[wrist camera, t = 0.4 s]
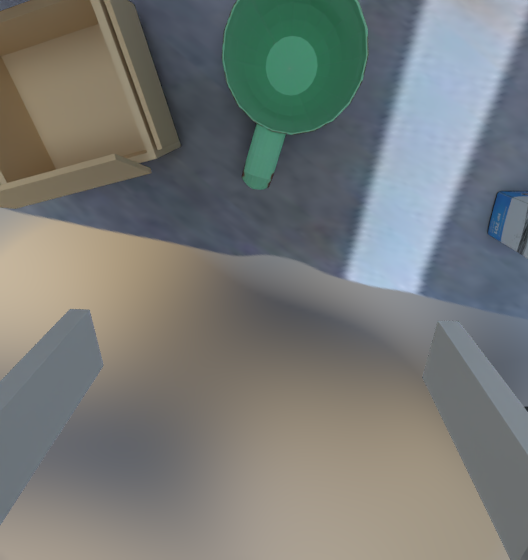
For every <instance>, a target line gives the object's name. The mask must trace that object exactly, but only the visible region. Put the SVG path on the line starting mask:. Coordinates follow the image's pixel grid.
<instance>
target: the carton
mask: <svg viewBox="0 0 528 560" xmlns="http://www.w3.org/2000/svg"><path fill="white" fill-rule="evenodd" d="M179 147H181V144H180V141H179V138H178V135H177V132H176V129H175V126H174V123H173V120H172V117H171V114H170V111H169V108H168V105H167V102H166V99H165V96H164V93H163V90H162V87H161V84H160V81H159V78H158V75H157V72H156V69H155V66H154V63H153V60H152V57H151V54H150V51H149V48H148V45H147V42H146V39H145V36H144V33H143V30H142V27H141V24H140V20H139V17H138V14H137V11H136V8H135V5H134V4H133V3H131V2H130V1H128V0H30V1H27V2H24V3H22V4H19V5H16V6H13V7H11V8H8V9H5V10H2V11H0V185H2V184H6V183H9V182H13V181H16V180H20V179H24V178H27V177H31V176H35V175H38V174H42V173H46V172H49V171H53V170H57V169H60V168H64V167H67V166H71V165H75V164H78V163H82V162H86V161H89V160H93V159H97V158H100V157H104V156H108V155H111V154H117V155H119V156H121V157H124V158H126V159H129V160H131V161H134V162H136V163H142V162H146V161H149V160H153V159H157V158H159V157H161V156H163V155H165V154H167V153H169V152H171V151H173V150H175V149H177V148H179Z"/></svg>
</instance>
